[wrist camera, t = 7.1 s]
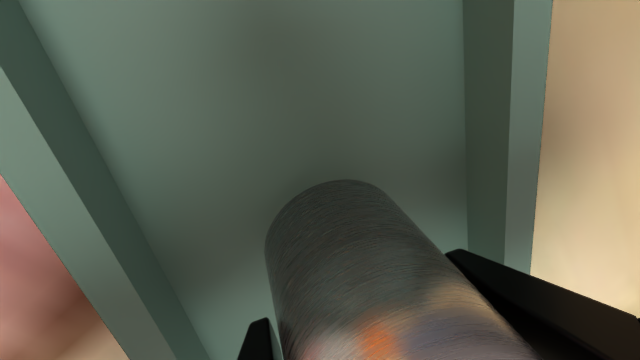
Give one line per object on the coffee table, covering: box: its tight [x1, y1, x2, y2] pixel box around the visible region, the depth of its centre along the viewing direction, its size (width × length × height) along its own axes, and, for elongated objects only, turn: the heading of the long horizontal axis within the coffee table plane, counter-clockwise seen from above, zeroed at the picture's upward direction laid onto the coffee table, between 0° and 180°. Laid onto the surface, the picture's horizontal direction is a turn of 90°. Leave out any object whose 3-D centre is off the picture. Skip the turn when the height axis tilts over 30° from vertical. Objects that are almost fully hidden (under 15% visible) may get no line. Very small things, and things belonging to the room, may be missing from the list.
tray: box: [0, 0, 553, 360], centre depth 11 cm, size 22×12×2 cm, turn 13°
